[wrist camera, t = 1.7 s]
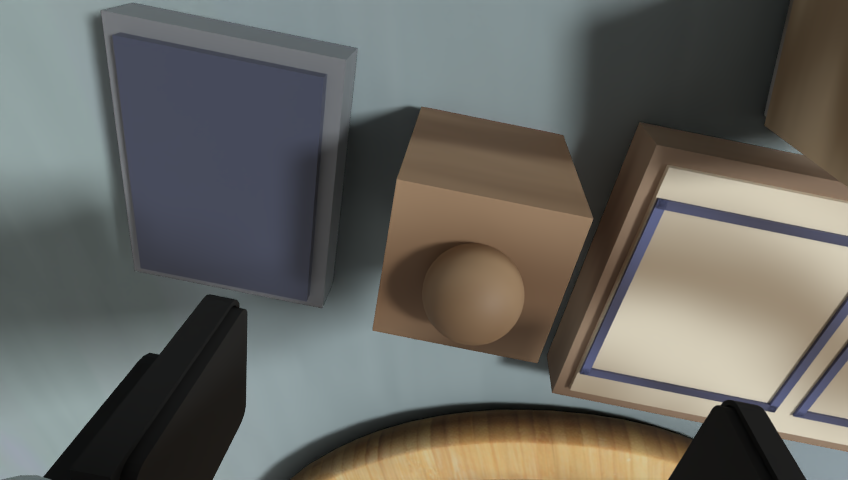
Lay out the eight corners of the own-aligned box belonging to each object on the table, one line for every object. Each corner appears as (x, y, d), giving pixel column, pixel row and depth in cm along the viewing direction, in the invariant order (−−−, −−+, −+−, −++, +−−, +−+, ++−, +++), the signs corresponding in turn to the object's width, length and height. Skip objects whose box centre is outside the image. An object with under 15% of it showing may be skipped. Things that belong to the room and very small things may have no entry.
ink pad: (132, 2, 17) (91, 12, 15) (357, 47, 17) (343, 63, 15) (157, 247, 21) (128, 276, 19) (332, 283, 21) (319, 315, 19)
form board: (639, 122, 17) (659, 148, 15) (1139, 223, 17) (1225, 263, 15) (546, 356, 22) (553, 399, 20) (930, 432, 22) (974, 482, 20)
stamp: (422, 102, 17) (383, 216, 11) (561, 129, 17) (609, 261, 11) (401, 222, 20) (358, 379, 13) (523, 247, 20) (543, 416, 13)
